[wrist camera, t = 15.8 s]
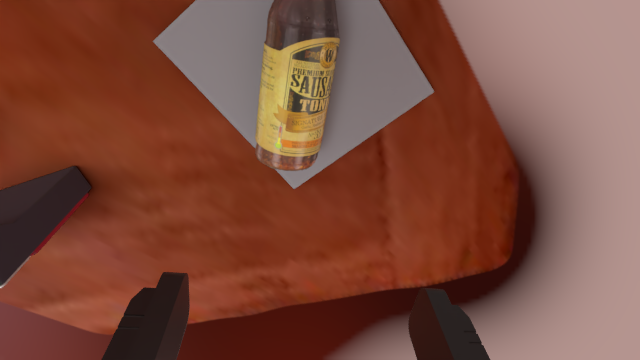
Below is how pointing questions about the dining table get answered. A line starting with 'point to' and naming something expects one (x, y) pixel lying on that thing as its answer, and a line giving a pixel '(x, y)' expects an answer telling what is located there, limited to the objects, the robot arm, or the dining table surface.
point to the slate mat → (348, 80)
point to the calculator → (36, 215)
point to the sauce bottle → (296, 82)
